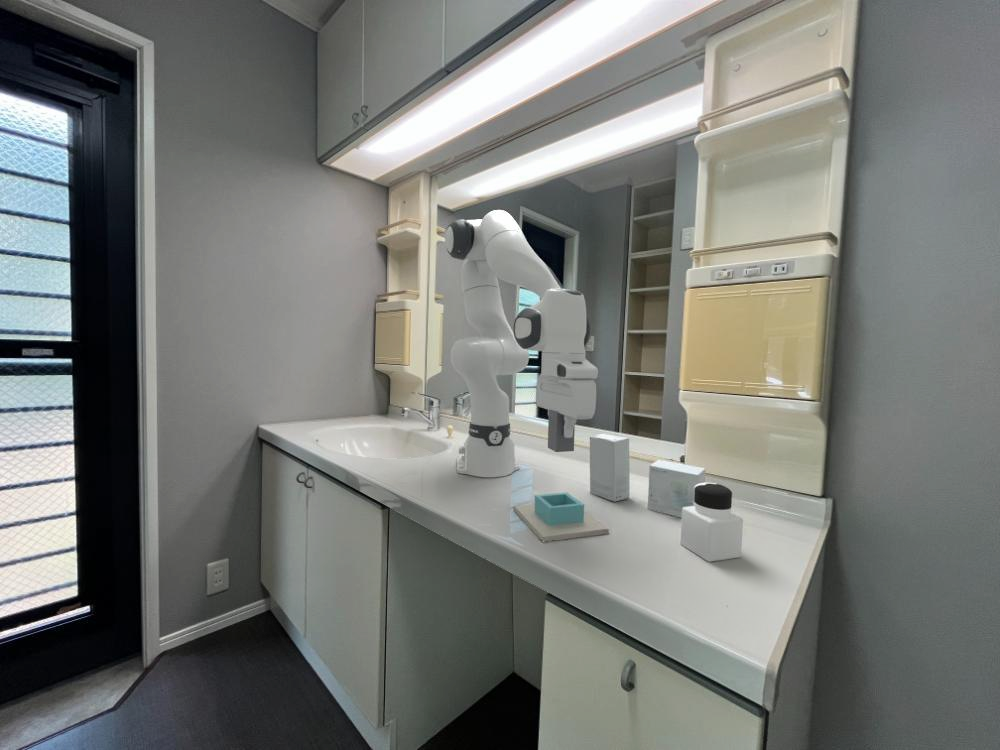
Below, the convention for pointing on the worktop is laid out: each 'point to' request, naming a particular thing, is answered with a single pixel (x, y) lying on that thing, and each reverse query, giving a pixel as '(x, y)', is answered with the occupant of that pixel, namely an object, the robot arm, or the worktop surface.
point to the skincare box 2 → (672, 486)
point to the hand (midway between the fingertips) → (561, 434)
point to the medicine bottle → (712, 524)
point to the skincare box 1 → (609, 467)
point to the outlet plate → (559, 518)
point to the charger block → (558, 434)
